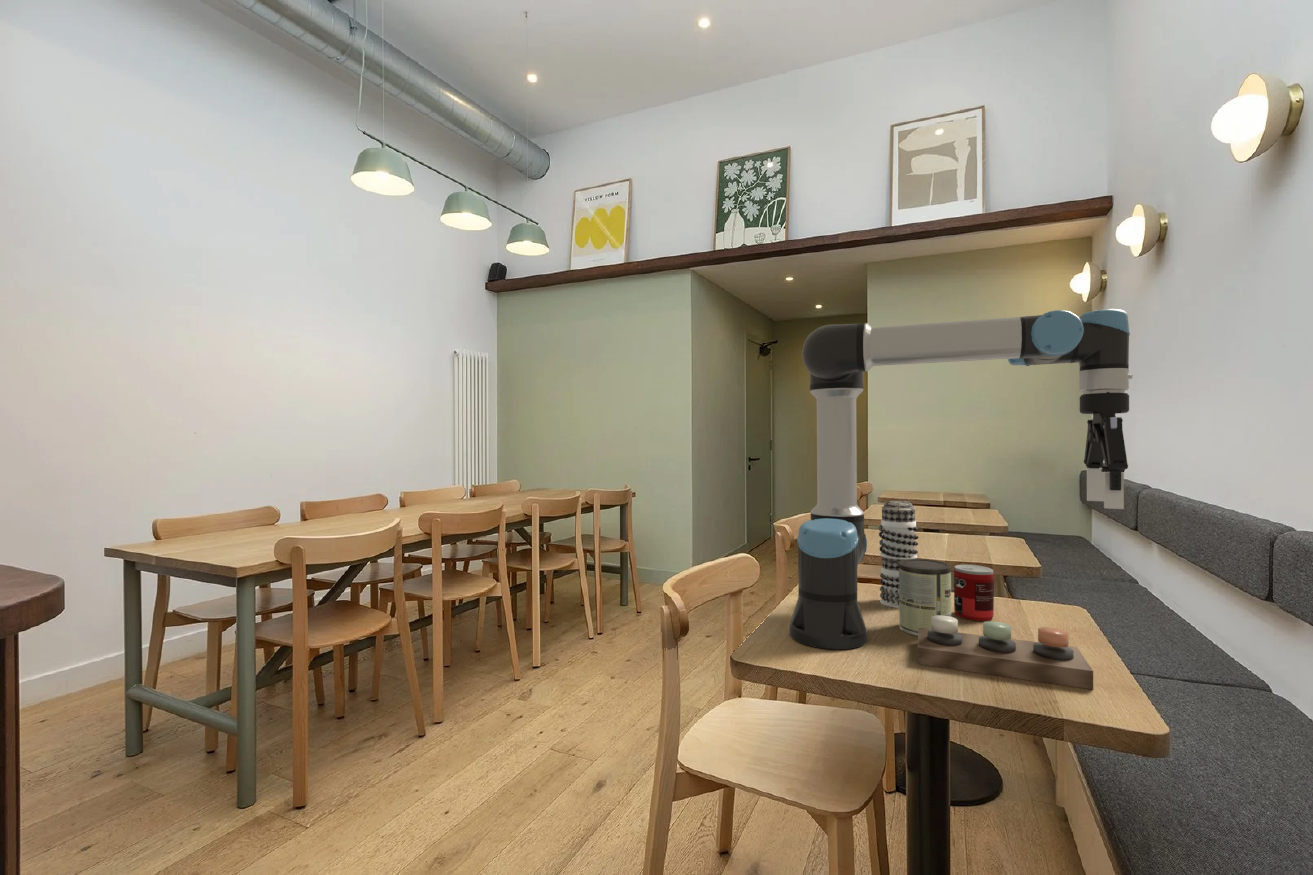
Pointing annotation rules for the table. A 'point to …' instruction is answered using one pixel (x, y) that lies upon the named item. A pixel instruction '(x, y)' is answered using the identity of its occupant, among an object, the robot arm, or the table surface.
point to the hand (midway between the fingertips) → (1104, 504)
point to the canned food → (974, 592)
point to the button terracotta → (1053, 637)
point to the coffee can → (923, 593)
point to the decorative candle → (895, 546)
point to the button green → (997, 630)
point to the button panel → (1005, 658)
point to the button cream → (944, 624)
